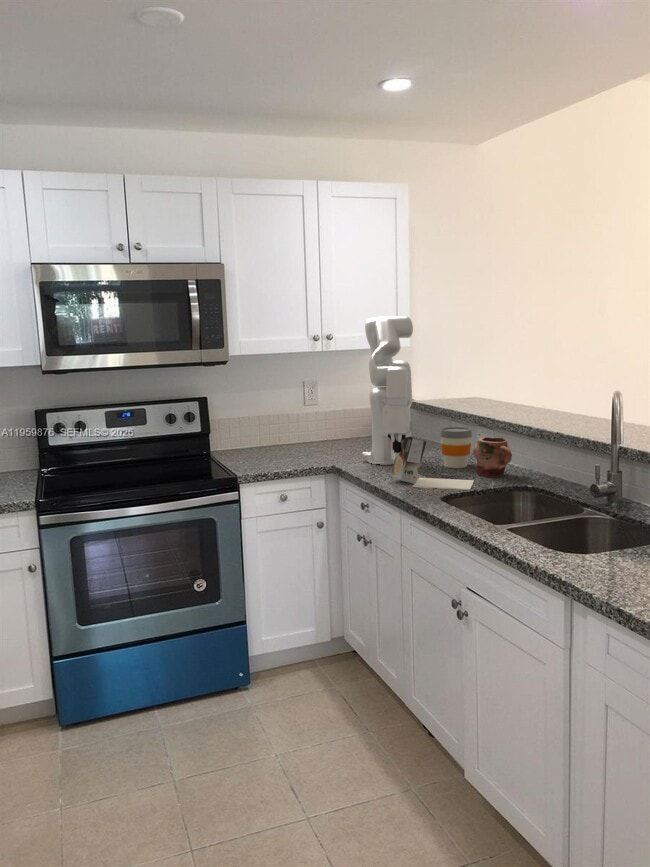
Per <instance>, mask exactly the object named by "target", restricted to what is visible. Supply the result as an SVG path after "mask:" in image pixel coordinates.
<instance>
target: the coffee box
mask: <svg viewBox="0 0 650 867" xmlns="http://www.w3.org/2000/svg"><path fill="white" fill-rule="evenodd" d="M426 445H427V441H426V440H424V439H419V438H416V437H413V436H410V437H406V438H404V439H403V440H402V449H401V450H400V452H399V453H397V452H396V453H395V460H394V464H392V468H391V473H390V477H392V478H394V479H397V480H400V481H402V482H407V483H411V484H413V485H414V484H415V483H416V481H417V480H418V475H419V473H420V472H419V470H420V468H421V463H422V460H423V458H424V457H423V456H424V452H425V448H426Z"/></svg>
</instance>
